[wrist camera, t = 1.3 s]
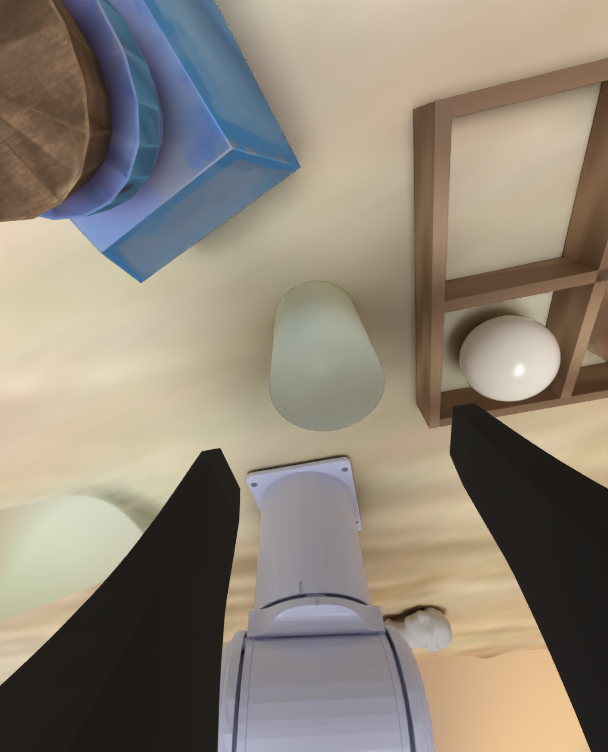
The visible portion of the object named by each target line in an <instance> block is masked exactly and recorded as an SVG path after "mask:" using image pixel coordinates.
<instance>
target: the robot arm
mask: <svg viewBox="0 0 608 752" xmlns="http://www.w3.org/2000/svg"><path fill="white" fill-rule="evenodd" d="M450 456H451V458H452V461H453V463H454V465H455V468H456V470H457V473H458V475H459V477H460V479H461V482H462V484H463V486H464V488H465V489H466V491H467V493H468V495H469V496H470V498H471V500H472V502H473V503H474V505H475V507H476V509H477V510H478V512H479V514H480V516H481V517H482V519H483V521H484V522H485V524H486V526H487V528H488V529H489V531H490V533H491V535H492V536H493V538H494V540H495V541H496V543H497V545H498V547H499V548H500V550H501V552H502V553H503V555H504V557H505V559H506V561H507V562H508V564H509V566H510V568H511V570H512V572H513V574H514V576H515V578H516V580H517V582H518V584H519V586H520V588H521V591H522V593H523V595H524V597H525V599H526V601H527V603H528V605H529V608H530V610H531V612H532V614H533V616H534V618H535V621H536V623H537V625H538V627H539V630H540V632H541V634H542V636H543V639H544V641H545V643H546V645H547V647H548V650H549V652H550V654H551V656H552V659H553V661H554V663H555V666H556V668H557V671H558V673H559V675H560V677H561V680H562V682H563V684H564V687H565V689H566V691H567V694H568V696H569V699H570V701H571V703H572V706H573V708H574V710H575V713H576V715H577V718H578V720H579V723H580V725H581V728H582V730H583V733H584V735H585V738H586V740H587V743H588V745H589V748H590V750H591V752H608V489H607V488H606V487H604V486H602V485H600V484H598V483H597V482H595V481H593V480H591V479H590V478H588V477H586V476H585V475H583V474H581V473H580V472H578V471H576V470H574V469H573V468H571V467H569V466H568V465H566V464H564V463H563V462H561V461H560V460H558V459H556V458H555V457H553V456H552V455H550V454H548V453H547V452H545V451H544V450H542V449H541V448H539V447H538V446H536V445H534V444H533V443H531V442H530V441H528V440H527V439H525V438H524V437H522V436H521V435H519V434H518V433H517V432H515V431H514V430H512V429H511V428H509V427H508V426H506V425H505V424H503V423H502V422H501V421H499V420H498V419H496V418H495V417H493V416H492V415H491V414H489V413H488V412H486V411H485V410H483V409H482V408H481V407H479V406H478V405H476V404H475V403H471V404H465V405H460V406H454V407H453V414H452V428H451V443H450ZM344 467H346V468H344ZM246 482H247V484H248V486H249V488H250V491H251V493H252V495H253V497H254V499H255V501H256V504H257V506H258V508H259V510H260V512H261V521H260V535H259V548H258V561H257V575H256V588H255V601H254V610H251V611H249V618H248V630H247V631H246V630H241V631H237V632H236V633H235V634H234V636H233V638H232V639H231V640H230V641H229V643H228V644H227V645H226V647H225V649H224V652H223V655H222V645H223V631H224V617H225V608H226V600H227V593H228V587H229V581H230V575H231V569H232V563H233V557H234V550H235V544H236V538H237V531H238V524H239V512H240V487H239V485H238V483H237V481H236V479H235V477H234V475H233V473H232V471H231V469H230V467H229V465H228V463H227V461H226V459H225V457H224V455H223V453H222V451H221V449H220V448H218V449H212V450H207V451H202V452H201V453H200V455H199V456H198V458H197V459H196V460H195V462H194V463H193V465H192V466H191V468H190V469H189V471H188V472H187V474H186V475H185V477H184V478H183V479H182V481H181V482H180V484H179V485H178V487H177V488H176V490H175V491H174V493H173V494H172V495H171V497H170V498H169V500H168V501H167V503H166V504H165V505H164V507H163V508H162V510H161V511H160V512H159V514H158V515H157V517H156V518H155V519H154V521H153V522H152V523H151V525H150V526H149V527H148V529H147V530H146V531H145V533H144V534H143V535H142V536H141V538H140V539H139V540H138V542H137V543H136V544H135V546H134V547H133V548H132V549H131V551H130V552H129V553H128V555H127V556H126V557H125V558H124V559H123V560H122V562H121V563H120V564H119V565H118V566H117V568H116V569H115V570H114V571H113V572H112V573H111V574H110V576H109V577H108V578H107V579H106V580H105V581H104V582H103V584H102V585H101V586H100V587H99V588H98V589H97V590H96V591H95V592H94V594H93V595H92V596H91V597H90V598H89V599H88V600H87V601H86V602H85V603H84V604H83V605H82V606H81V607H80V608H79V609H78V610H77V611H76V612H75V613H74V614H73V615H72V617H71V618H70V619H69V620H68V621H67V622H66V623H65V624H64V625H63V626H62V627H61V628H60V629H59V630H58V631H57V632H56V633H55V634H54V635H53V636H52V637H51V638H50V639H49V640H48V641H47V642H46V643H45V644H44V645H43V646H42V647H41V648H40V649H39V650H38V651H37V652H36V653H35V654H34V655H33V656H32V657H31V658H30V659H28V660H27V661H26V662H25V663H24V664H23V665H22V666H21V667H20V668H19V669H18V670H17V671H16V672H15V673H13V674H12V675H11V676H10V677H9V678H8V679H7V680H6V681H5V682H4V683H3V684H2V685H1V686H0V752H435V750H434V738H433V730H432V723H431V717H430V711H429V707H428V701H427V697H426V693H425V689H424V684H423V681H422V677H421V674H420V671H419V668H418V665H417V662H416V659H415V657H414V654H413V652H412V650H411V648H410V646H409V644H408V643H407V641H406V640H405V639H404V638H403V637H402V636H401V635H400V633H399V632H398V630H397V629H396V628H395V627H394V626H391V625H384V623H383V618H382V613H381V608H380V606H372V604H371V598H370V593H369V588H368V582H367V577H366V572H365V567H364V561H363V556H362V551H361V545H360V540H359V535H358V532H359V531H360V530H361V529H362V525H361V520H360V514H359V508H358V503H357V497H356V492H355V486H354V481H353V475H352V469H351V464H350V460H349V459H348V458H347V457H340V458H334V459H328V460H322V461H316V462H311V463H305V464H299V465H293V466H287V467H281V468H275V469H270V470H264V471H258V472H252V473H249V474H247V476H246Z"/></svg>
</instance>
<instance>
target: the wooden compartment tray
mask: <svg viewBox="0 0 608 752" xmlns="http://www.w3.org/2000/svg"><path fill="white" fill-rule="evenodd" d="M599 82H603V83H602V87H601V92H600V96H599V100H598V105H597V109H596V113H595V117H594V122H593V126H592V130H591V135H590V139H589V143H588V148H587V152H586V156H585V161H584V165H583V169H582V174H581V178H580V182H579V186H578V191H577V195H576V199H575V204H574V208H573V212H572V217H571V221H570V225H569V230H568V234H567V238H566V243H565V247H564V251H563V255H562V257H561V258H556V259H551V260H546V261H541V262H536V263H531V264H527V265H522V266H517V267H512V268H507V269H502V270H498V271H493V272H488V273H483V274H478V275H473V276H468V277H464V278H459V279H454V280H449V281H445V276H446V251H447V226H448V201H449V176H450V152H451V127H452V118H455V117H459V116H463V115H467V114H471V113H476V112H480V111H484V110H488V109H492V108H496V107H500V106H504V105H508V104H513V103H517V102H521V101H525V100H529V99H533V98H537V97H541V96H546V95H550V94H554V93H558V92H562V91H566V90H570V89H574V88H578V87H583V86H587V85H591V84H595V83H599ZM413 123H414V211H415V299H416V387H417V406H418V408H419V410H420V411H421V413H422V415H423V417H424V419H425V421H426V423H427V425H428V427H429V429H430V428H436V427H441V426H447V425H452V414H453V407H454V406H460V405H465V404H471V403H475V404H476V405H478V406H479V407H481V408H482V409H483V410H485V411H486V412H488V413H489V414H491V415H492V416H493V417H499V416H505V415H510V414H516V413H522V412H528V411H533V410H539V409H545V408H551V407H556V406H562V405H568V404H574V403H580V402H585V401H591V400H597V399H603V398H608V363H603V364H597V365H592V366H586V367H581V364H582V360H583V357H584V354H585V351H586V348H587V345H588V342H589V339H590V335H591V332H592V329H593V326H594V323H595V320H596V317H597V314H598V311H599V307H600V304H601V301H602V298H603V295H604V292H605V289H606V286H607V282H608V58H607V59H603V60H599V61H595V62H591V63H587V64H582V65H578V66H574V67H570V68H566V69H562V70H558V71H554V72H550V73H546V74H542V75H538V76H534V77H530V78H526V79H522V80H518V81H514V82H510V83H506V84H502V85H498V86H494V87H490V88H486V89H482V90H478V91H473V92H469V93H465V94H461V95H457V96H453V97H449V98H445V99H441V100H437V101H434V102H431V103H429V104H426V105H424V106H421V107H419V108H416V109H414V110H413ZM551 291H554V294H553V299H552V303H551V307H550V312H549V316H548V320H547V324H546V328H547V329H548V330H549V331H550V332H551V333H552V334H553V335H554V337H555V338H556V340H557V342H558V345H559V348H560V354H561V358H560V366H559V369H558V372H557V374H556V376H555V378H554V379H553V381H552V382H551V383H550V384H549V385H548V386H547V387H546V388H545V389H544V390H543V391H541V392H540V393H538V394H536V395H534V396H532V397H530V398H527V399H524V400H519V401H498V400H494V399H490V398H488V397H485V396H483V395H481V394H479V393H478V392H477V391H475V390H474V389H473V388H472V387H471V388H465V389H460V390H454V391H449V392H443V393H441V375H442V350H443V325H444V313H446V312H451V311H456V310H461V309H466V308H471V307H476V306H481V305H486V304H491V303H496V302H501V301H506V300H511V299H516V298H521V297H526V296H531V295H536V294H541V293H546V292H551ZM580 367H581V368H580Z"/></svg>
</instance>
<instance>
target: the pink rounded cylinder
mask: <svg viewBox="0 0 608 752" xmlns="http://www.w3.org/2000/svg"><path fill="white" fill-rule="evenodd" d="M587 349H588V350H590V351H591V352H593V353H594V354H596V355H598V356H599V357H601V358H602V359H604V360H605V361H607V362H608V283H607V286H606V289H605V292H604V295H603V298H602V301H601V304H600V307H599V311H598V314H597V317H596V320H595V323H594V326H593V329H592V332H591V335H590V339H589V342H588V345H587Z"/></svg>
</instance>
